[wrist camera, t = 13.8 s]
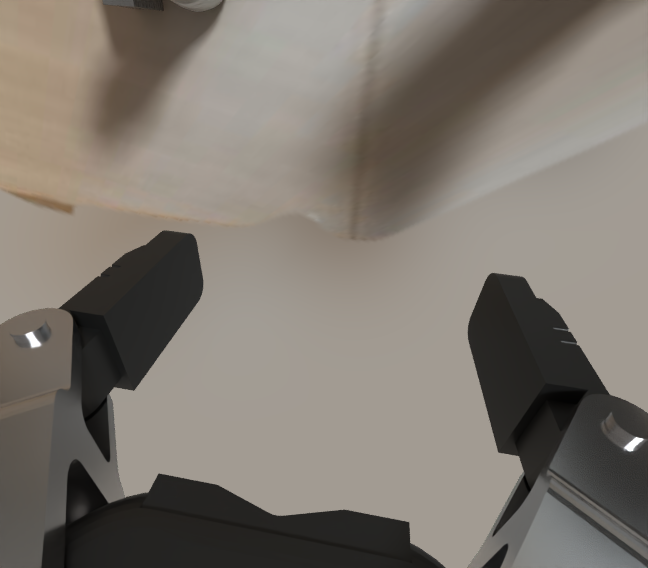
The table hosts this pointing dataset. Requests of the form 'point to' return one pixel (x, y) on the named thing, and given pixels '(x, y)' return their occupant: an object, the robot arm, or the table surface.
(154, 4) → the metal end stop
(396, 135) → the table surface
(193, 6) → the plastic bottle
